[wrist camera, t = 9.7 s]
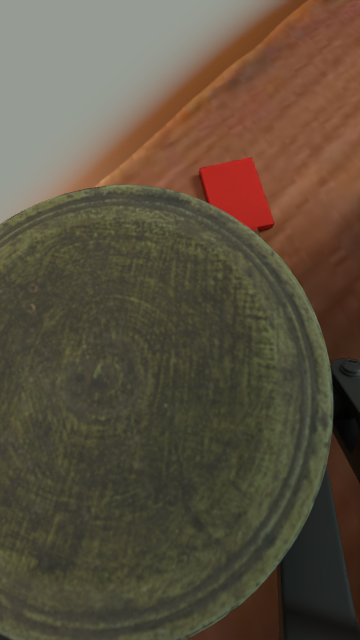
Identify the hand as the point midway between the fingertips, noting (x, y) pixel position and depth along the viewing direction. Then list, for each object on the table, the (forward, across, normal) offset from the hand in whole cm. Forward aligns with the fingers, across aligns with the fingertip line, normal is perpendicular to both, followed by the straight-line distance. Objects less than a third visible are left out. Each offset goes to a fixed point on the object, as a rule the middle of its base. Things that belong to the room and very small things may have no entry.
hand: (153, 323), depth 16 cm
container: (+3, 0, -8) cm, 8 cm away
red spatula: (+10, +10, -1) cm, 14 cm away
